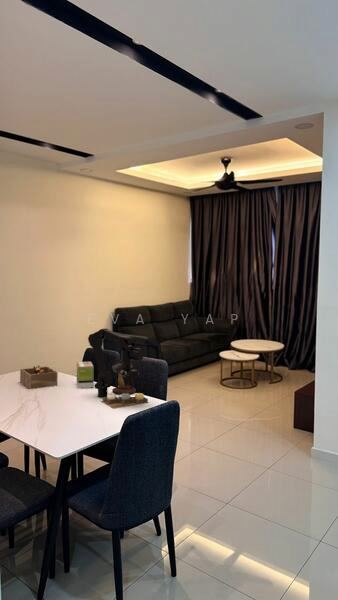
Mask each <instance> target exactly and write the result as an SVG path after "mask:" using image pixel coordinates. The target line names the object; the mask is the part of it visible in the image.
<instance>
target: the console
mask: <svg viewBox="0 0 338 600" xmlns="http://www.w3.org/2000/svg"><path fill="white" fill-rule="evenodd" d="M100 402H101V403H102V404H104V405H105V406H107V407H110V408H111V409H113V410H115V409H122V408H126V407H132V406H133V407H134V406H138V405H142V404H143V405H144V404H149V399H148V398H147V397H145V396H144V399H141V400H137V399H135V397H131V396H130V399H127V400H123V399H121V396H116V399H112V400H108V399H107V397H103V398H102V400H100Z"/></svg>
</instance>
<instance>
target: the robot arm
mask: <svg viewBox="0 0 338 600" xmlns="http://www.w3.org/2000/svg"><path fill="white" fill-rule="evenodd" d="M105 338H108V339H109V340H112V341H114V342H116V343H118V345H119V346H120V347H119V349H118V351H121V359H120V360H119V362H120V363H119V362H118V363H115V364H114V365H112V366H111V369H112V372H111V371H108V369H107V368H108V367H107V364H106V360H105V355H104V351H103V348H102V347H103V344H104V340H103V339H105ZM87 340H88V343H89V346H90V347H91V348H92V349H93V353H94V357H95V362H96V365H97V370H98V374H97V382H96V383H95V384H93V387H94V389H96V390H97V398H102V399H103V397H107V394H108V388H111V385H112V384H113V382H114V381H113V380H114V377H113V373H115V374H116V373H119V372H120V373H119V374H121V375H122V377H123V381H124V384H125V386H127V385H128V383H129V381H130V379H131V377H132V376H133V377H138V376H140V372H139V370H137V369H134V368H132V367H131V366H132V363H133V362H134V361H139V362H141V361H143V359H144V355H145V354H144V352H143V351H142V348H139V347H138V346H137V344H136V342H135V340H134V338H133V337H132V336H129V335H122V334H120V333H117V332H116V331H115V332H114V331H113V330H110V329H108V328H101V329H99V330H97V331H95V332H94V333H90V334H89V336H88V337H87ZM132 369H133V370H132Z"/></svg>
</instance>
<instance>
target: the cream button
mask: <svg viewBox="0 0 338 600" xmlns="http://www.w3.org/2000/svg"><path fill="white" fill-rule="evenodd" d="M116 395H117V394H115V393H113V392H112V393H107V399H108V400H112V399H116V397H117V396H116Z"/></svg>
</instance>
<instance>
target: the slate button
mask: <svg viewBox="0 0 338 600" xmlns="http://www.w3.org/2000/svg"><path fill="white" fill-rule="evenodd" d="M120 397H121V399H123V400H127V399H130V397H131V394H128V393H123V394H120Z"/></svg>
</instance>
